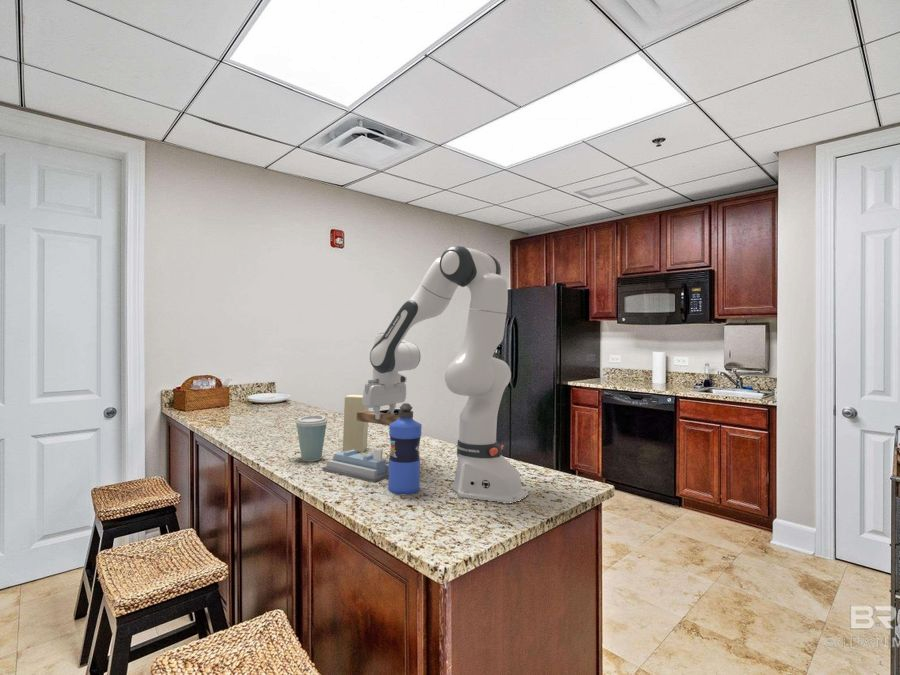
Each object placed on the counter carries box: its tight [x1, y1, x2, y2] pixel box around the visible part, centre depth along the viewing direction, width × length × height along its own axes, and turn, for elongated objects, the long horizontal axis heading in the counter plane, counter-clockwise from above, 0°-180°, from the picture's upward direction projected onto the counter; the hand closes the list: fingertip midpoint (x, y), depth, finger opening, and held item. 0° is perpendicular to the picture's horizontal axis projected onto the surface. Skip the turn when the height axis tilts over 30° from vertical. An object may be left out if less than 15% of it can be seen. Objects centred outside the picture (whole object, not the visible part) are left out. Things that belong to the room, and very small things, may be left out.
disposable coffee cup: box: [295, 414, 328, 463], centre depth 167 cm, size 11×11×15 cm
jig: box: [322, 459, 389, 483], centre depth 153 cm, size 22×11×3 cm, turn 59°
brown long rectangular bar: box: [357, 410, 400, 426], centre depth 166 cm, size 20×5×3 cm, turn 59°
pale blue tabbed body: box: [332, 448, 387, 475], centre depth 154 cm, size 20×4×8 cm, turn 59°
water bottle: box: [387, 402, 423, 495], centre depth 137 cm, size 9×9×25 cm
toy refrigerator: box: [342, 394, 370, 453], centre depth 182 cm, size 8×7×21 cm
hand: (384, 417), depth 165 cm, fingers closed on brown long rectangular bar, 5 cm apart
